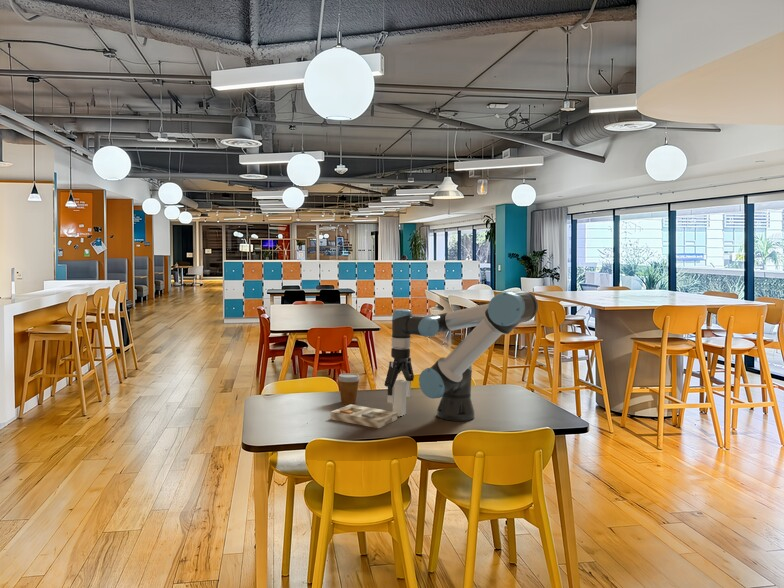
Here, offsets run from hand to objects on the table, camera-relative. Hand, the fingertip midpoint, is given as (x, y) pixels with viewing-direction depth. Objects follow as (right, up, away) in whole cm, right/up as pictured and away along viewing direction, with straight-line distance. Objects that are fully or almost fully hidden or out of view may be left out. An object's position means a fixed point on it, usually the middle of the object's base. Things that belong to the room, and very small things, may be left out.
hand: (399, 399), depth 250 cm
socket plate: (-14, -6, -8) cm, 17 cm away
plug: (0, -6, 0) cm, 6 cm away
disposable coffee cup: (-22, -5, +18) cm, 29 cm away
